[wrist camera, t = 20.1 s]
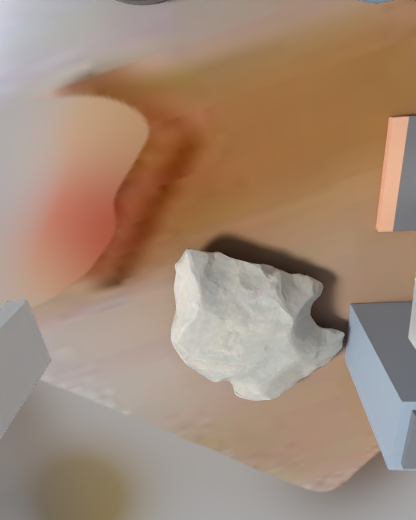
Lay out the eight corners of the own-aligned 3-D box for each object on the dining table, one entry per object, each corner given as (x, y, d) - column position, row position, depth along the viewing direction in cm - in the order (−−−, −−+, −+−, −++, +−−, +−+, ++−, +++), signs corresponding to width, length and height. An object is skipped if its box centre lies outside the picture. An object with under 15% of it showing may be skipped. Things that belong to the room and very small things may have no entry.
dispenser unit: (350, 303, 47) (404, 407, 32) (433, 301, 46) (529, 406, 31) (344, 364, 51) (390, 480, 36) (420, 362, 50) (499, 481, 35)
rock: (256, 431, 51) (115, 327, 40) (248, 388, 57) (124, 290, 47) (381, 357, 45) (254, 215, 35) (357, 319, 51) (243, 190, 41)
